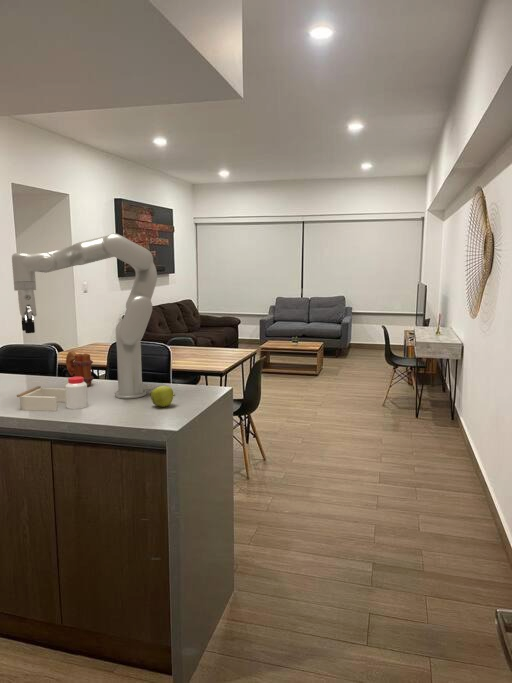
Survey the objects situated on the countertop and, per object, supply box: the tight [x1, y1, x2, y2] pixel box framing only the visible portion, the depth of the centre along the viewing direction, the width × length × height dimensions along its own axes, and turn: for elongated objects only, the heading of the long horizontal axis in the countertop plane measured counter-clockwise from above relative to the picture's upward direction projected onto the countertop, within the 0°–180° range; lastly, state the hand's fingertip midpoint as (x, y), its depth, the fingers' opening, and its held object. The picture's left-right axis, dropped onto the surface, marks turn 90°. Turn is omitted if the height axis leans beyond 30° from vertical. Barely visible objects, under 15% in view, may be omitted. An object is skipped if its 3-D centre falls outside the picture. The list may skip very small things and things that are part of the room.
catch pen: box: [16, 385, 66, 412], centre depth 193 cm, size 14×14×6 cm
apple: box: [150, 385, 176, 408], centre depth 191 cm, size 8×9×8 cm
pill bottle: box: [64, 376, 89, 410], centre depth 191 cm, size 8×8×11 cm
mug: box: [65, 350, 95, 387], centre depth 227 cm, size 15×8×15 cm, turn 58°
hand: (28, 331), depth 193 cm, fingers open, 9 cm apart
